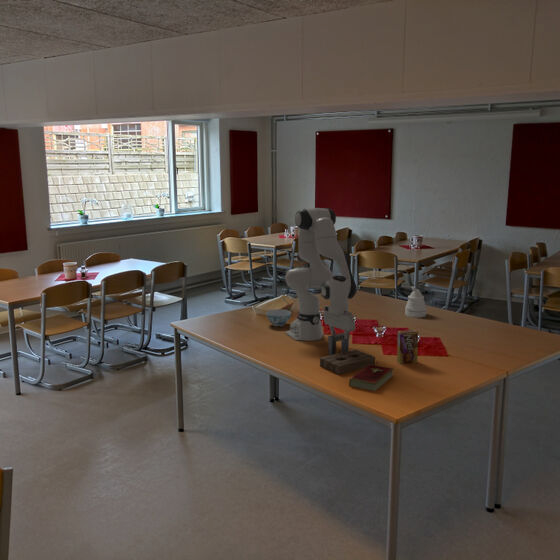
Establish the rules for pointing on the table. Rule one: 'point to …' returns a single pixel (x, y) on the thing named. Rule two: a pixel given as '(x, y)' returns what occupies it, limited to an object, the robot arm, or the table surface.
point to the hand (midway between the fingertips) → (339, 336)
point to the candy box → (407, 347)
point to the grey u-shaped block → (332, 343)
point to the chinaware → (278, 317)
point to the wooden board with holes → (347, 361)
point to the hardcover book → (371, 377)
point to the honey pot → (415, 304)
